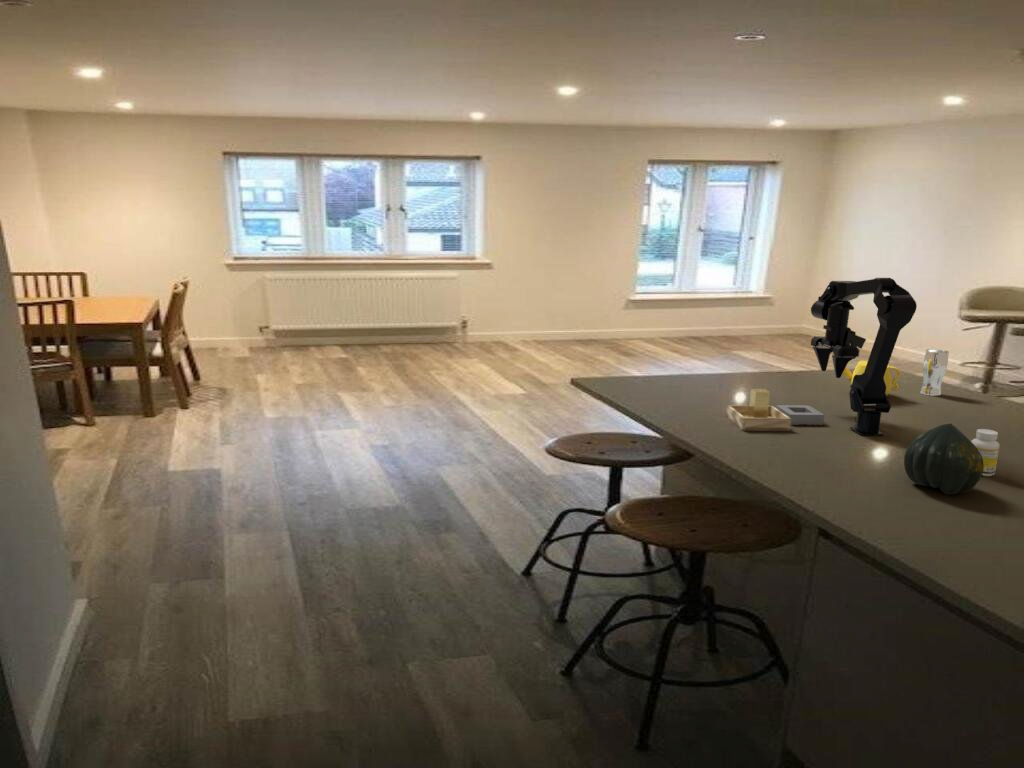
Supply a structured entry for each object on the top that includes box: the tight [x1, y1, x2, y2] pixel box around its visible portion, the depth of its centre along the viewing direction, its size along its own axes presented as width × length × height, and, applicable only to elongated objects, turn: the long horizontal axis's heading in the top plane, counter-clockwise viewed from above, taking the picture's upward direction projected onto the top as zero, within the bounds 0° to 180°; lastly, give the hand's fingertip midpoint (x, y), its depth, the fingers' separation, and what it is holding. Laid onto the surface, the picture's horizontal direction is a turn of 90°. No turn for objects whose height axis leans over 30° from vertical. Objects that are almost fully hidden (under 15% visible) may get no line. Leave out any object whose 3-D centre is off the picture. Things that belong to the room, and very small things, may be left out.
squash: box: [903, 422, 984, 495], centre depth 157 cm, size 14×15×15 cm
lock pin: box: [748, 388, 771, 418], centre depth 203 cm, size 4×4×9 cm
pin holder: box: [775, 404, 825, 426], centre depth 208 cm, size 10×10×3 cm
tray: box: [725, 404, 792, 432], centre depth 204 cm, size 14×14×4 cm
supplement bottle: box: [970, 428, 1001, 477], centre depth 167 cm, size 6×6×10 cm
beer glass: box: [920, 348, 949, 397], centre depth 240 cm, size 7×7×15 cm
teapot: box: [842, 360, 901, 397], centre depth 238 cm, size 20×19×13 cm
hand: (830, 374), depth 214 cm, fingers open, 9 cm apart
